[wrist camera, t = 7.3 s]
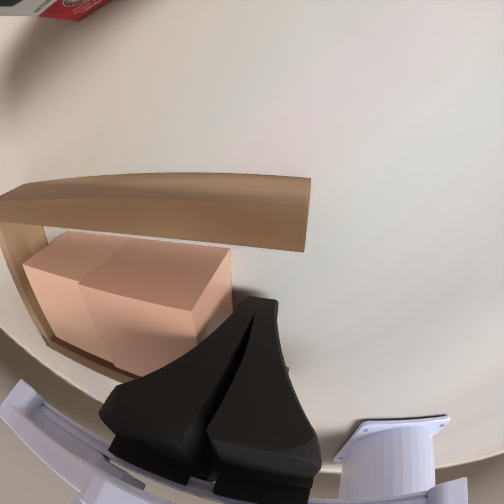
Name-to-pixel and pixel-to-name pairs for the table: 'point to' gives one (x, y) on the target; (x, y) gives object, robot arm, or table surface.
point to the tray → (150, 222)
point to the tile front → (157, 301)
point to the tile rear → (70, 285)
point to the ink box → (50, 8)
